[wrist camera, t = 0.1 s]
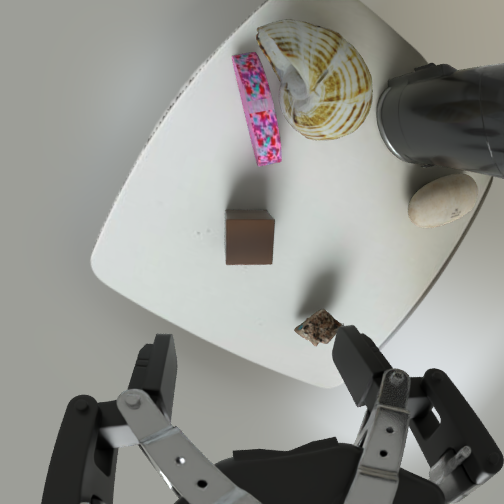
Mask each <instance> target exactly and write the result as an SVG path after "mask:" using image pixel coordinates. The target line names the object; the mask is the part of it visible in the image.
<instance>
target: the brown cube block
mask: <svg viewBox="0 0 504 504" xmlns="http://www.w3.org/2000/svg"><path fill="white" fill-rule="evenodd" d="M274 226H275V219H274V218H273V217H272V216H271V215H270V214H269V213H268V211H267V210H225V258H226V265H267V264H272V261H273V244H274Z"/></svg>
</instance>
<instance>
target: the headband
mask: <svg viewBox="0 0 504 504" xmlns="http://www.w3.org/2000/svg"><path fill="white" fill-rule="evenodd" d="M232 61H233V66H234V70H235V75H236V79H237V83H238V87H239V92H240V96H241V100H242V104H243V108H244V113H245V117H246V121H247V125H248V129H249V134H250V138H251V142H252V146H253V150H254V154H255V158H256V162H257V165H258V166H263V165H268V164H273V163H278V162H281V161H282V152H281V142H280V135H279V129H278V123H277V118H276V113H275V108H274V104H273V100H272V96H271V92H270V89H269V85H268V82H267V79H266V75H265V72H264V70H263V67H262V64H261V62H260V59H259V57H258V55H257V54H256V52H251V53H245V54H239V55H234V56H232Z"/></svg>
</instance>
